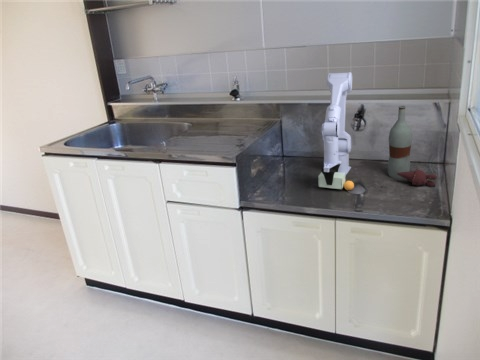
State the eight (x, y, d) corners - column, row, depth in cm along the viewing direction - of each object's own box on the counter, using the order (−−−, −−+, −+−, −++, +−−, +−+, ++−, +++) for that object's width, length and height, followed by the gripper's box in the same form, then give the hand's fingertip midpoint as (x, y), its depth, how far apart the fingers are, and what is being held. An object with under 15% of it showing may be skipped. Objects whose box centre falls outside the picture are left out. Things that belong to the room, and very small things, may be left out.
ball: (349, 177, 164) (357, 183, 163) (343, 183, 166) (350, 189, 166) (347, 181, 160) (354, 187, 160) (340, 187, 163) (348, 193, 162)
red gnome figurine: (394, 171, 160) (435, 180, 152) (400, 161, 165) (439, 169, 157) (393, 185, 164) (432, 193, 157) (399, 174, 169) (437, 182, 161)
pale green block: (322, 181, 171) (322, 170, 169) (345, 183, 167) (345, 172, 165) (318, 186, 167) (318, 176, 165) (341, 189, 162) (341, 178, 160)
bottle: (413, 178, 168) (418, 107, 156) (391, 180, 168) (394, 110, 156) (405, 169, 176) (409, 102, 165) (384, 171, 177) (386, 105, 165)
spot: (349, 186, 167) (349, 185, 167) (366, 187, 164) (366, 187, 164) (345, 193, 161) (345, 192, 161) (362, 195, 158) (363, 194, 158)
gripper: (336, 157, 153) (336, 189, 158) (345, 145, 165) (345, 175, 170) (318, 156, 156) (319, 187, 162) (328, 144, 168) (329, 174, 173)
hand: (331, 181), depth 166 cm, fingers closed on pale green block, 6 cm apart
